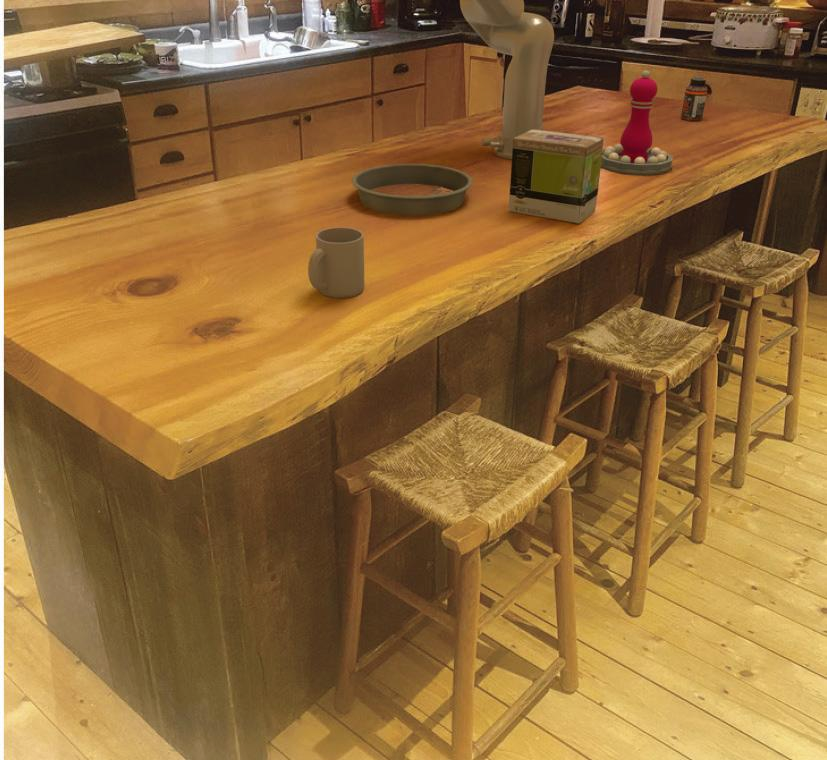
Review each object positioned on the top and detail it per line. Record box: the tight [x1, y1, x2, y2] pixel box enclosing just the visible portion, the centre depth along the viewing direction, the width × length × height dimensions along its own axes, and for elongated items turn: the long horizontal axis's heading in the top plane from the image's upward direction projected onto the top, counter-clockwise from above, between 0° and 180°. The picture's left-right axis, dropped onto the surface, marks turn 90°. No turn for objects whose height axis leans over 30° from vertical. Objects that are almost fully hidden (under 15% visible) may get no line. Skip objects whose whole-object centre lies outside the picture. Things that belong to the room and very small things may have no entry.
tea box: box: [508, 129, 605, 224], centre depth 162 cm, size 15×10×15 cm
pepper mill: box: [619, 69, 658, 163], centre depth 190 cm, size 7×7×20 cm
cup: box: [307, 226, 365, 299], centre depth 127 cm, size 7×10×9 cm
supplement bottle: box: [680, 76, 708, 122], centre depth 237 cm, size 6×6×11 cm
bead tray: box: [600, 143, 674, 177], centre depth 195 cm, size 17×17×4 cm
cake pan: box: [351, 163, 473, 217], centre depth 171 cm, size 25×25×4 cm
